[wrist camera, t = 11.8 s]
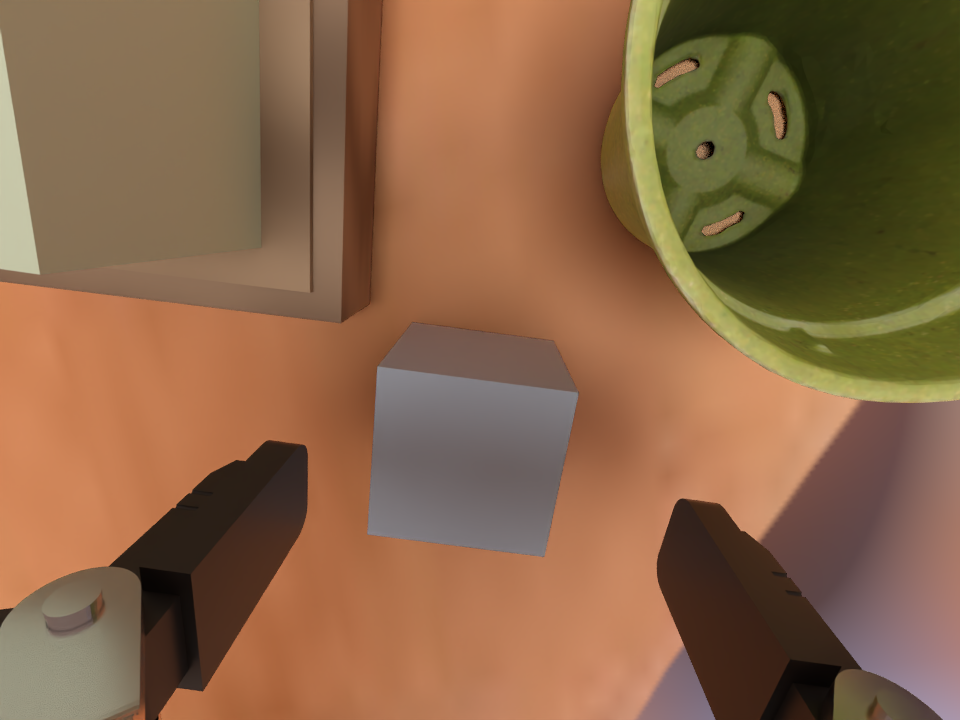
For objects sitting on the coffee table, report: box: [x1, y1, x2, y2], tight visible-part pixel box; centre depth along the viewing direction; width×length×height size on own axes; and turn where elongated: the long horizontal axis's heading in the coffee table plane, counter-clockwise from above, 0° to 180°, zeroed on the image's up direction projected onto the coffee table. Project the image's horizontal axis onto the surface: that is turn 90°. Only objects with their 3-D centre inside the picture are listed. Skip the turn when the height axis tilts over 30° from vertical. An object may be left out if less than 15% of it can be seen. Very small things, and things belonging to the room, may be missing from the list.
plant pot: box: [601, 0, 960, 403], centre depth 9 cm, size 9×9×9 cm
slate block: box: [367, 322, 579, 557], centre depth 14 cm, size 5×5×5 cm
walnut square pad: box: [0, 0, 382, 323], centre depth 12 cm, size 10×10×3 cm
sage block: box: [0, 0, 261, 275], centre depth 8 cm, size 6×6×6 cm
